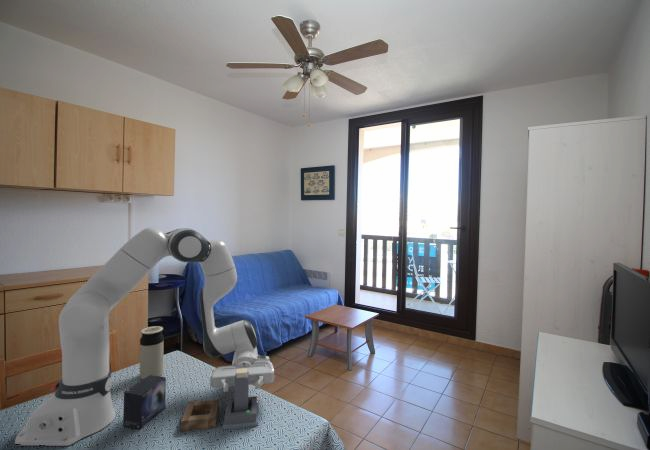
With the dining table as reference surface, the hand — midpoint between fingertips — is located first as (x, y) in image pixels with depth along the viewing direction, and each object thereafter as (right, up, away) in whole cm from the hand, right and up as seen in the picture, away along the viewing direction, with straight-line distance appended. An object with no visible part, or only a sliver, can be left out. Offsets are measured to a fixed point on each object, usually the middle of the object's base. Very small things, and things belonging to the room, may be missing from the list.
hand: (241, 388), depth 94 cm
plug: (0, -8, +1) cm, 9 cm away
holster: (-12, -9, 0) cm, 15 cm away
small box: (-30, -9, 0) cm, 31 cm away
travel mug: (-42, -9, +25) cm, 50 cm away
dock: (0, -9, +1) cm, 10 cm away
